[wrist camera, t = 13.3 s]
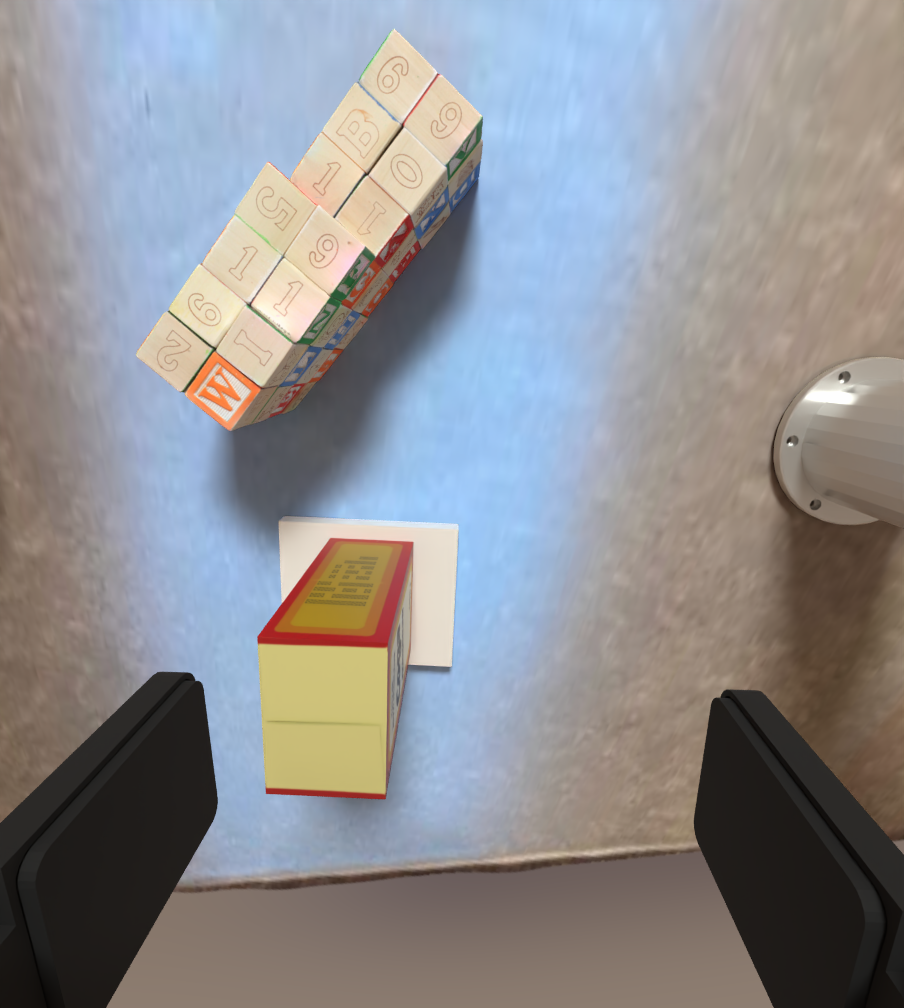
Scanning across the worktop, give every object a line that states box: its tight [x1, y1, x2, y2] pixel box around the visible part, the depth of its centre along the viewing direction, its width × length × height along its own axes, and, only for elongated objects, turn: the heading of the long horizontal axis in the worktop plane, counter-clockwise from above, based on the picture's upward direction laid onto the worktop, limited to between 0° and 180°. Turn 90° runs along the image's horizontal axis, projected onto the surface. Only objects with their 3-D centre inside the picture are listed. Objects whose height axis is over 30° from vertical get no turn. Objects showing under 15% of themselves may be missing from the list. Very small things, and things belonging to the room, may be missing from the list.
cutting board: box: [279, 516, 458, 667], centre depth 44 cm, size 14×12×2 cm
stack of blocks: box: [136, 29, 483, 431], centre depth 32 cm, size 21×6×12 cm, turn 139°
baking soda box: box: [257, 538, 414, 799], centre depth 35 cm, size 10×6×16 cm
